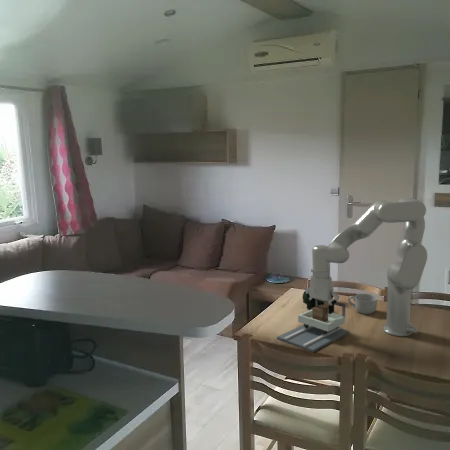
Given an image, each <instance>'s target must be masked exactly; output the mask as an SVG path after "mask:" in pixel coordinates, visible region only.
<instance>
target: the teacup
mask: <svg viewBox="0 0 450 450" xmlns="http://www.w3.org/2000/svg"><path fill="white" fill-rule="evenodd" d="M351 299H352V300H353V301H354V303H353V302H352V301H351ZM347 301H348V303H349V305H351V306H352V307H353V308H354V309H355V310H356V311H357V312H358V313H360V314H361V315H371V314H373V313H374V312H375V311H376V310H377V307H378V306H377V305H378V297H377V296H376V295H374V294H370V293H358V294H356V295H355V296H353V295H351V296H350V295H349V297H348V298H347Z"/></svg>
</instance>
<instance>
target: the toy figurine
mask: <svg viewBox="0 0 450 450" xmlns="http://www.w3.org/2000/svg"><path fill="white" fill-rule="evenodd" d="M302 302H303V304H305V305H306V309H307V311H309V310H311V309H310V300H309V298H308V296H307V294H306V291H305V290H304V291H303V293H302ZM318 305H321V306H323V305H325V302H323V301H319V300H317V306H318Z"/></svg>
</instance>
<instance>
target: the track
mask: <svg viewBox="0 0 450 450" xmlns="http://www.w3.org/2000/svg"><path fill="white" fill-rule="evenodd" d="M342 327H343V326H342V325H340V326H339V327H338V328H334V329H332V330H330V331H329V332H327V334H323V332H322V331H323V330H322V329H319V328H316V327H313V326H310V325H309V327H308V328H305V327H304V324H302V325H300V326H298V327H296V328H293V329H291V330H289V331H287V332H285V333H283V334H281V335H277V337H276V338H277V340H279V341H281V342H284V343H287V344H290V345H292V346H295V347H297V348H300V349H303V350H305V351H309V352H311V353H315V352H316V351H318V350H319V349H321V348H324V347H326V346H327V345H329V344H331V343H334V342H335V341H337V340H338V339H341V338H342V337H345V336H346V335H348V334H349V333H350V330H348V329H344V328H342Z"/></svg>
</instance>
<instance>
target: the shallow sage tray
mask: <svg viewBox="0 0 450 450" xmlns="http://www.w3.org/2000/svg"><path fill="white" fill-rule="evenodd" d="M314 299H315V298H314ZM315 300H316V306H318V305H317V300H319V299H315ZM319 301H323V300H319ZM330 301H331V300H330ZM323 302H324V303H327V304H329V303H328V301H323ZM334 306H339V307H342V308H341V314H339V313H335V312H333V313H332V314H329V310H328V321H326V322H322V321H319V320H316V319H313V318H312V309H311V310H307V311H305V312H302V313H300V314H298V315H297V316H298V317H297V319H298V320H297V321H298V323H301V324H302V325H304V327H305V328H308V327H309V325H310V326H313V327H316V328H319V329H322V330H323V331H322V332H323V334H327V332H329V331H330V330H332V329H334V328H338V327H339V326H342V325H344V324H346V307H347V306H346V304H345V303H342V302H338V301H337V302H336V303H335V304H334Z"/></svg>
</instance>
